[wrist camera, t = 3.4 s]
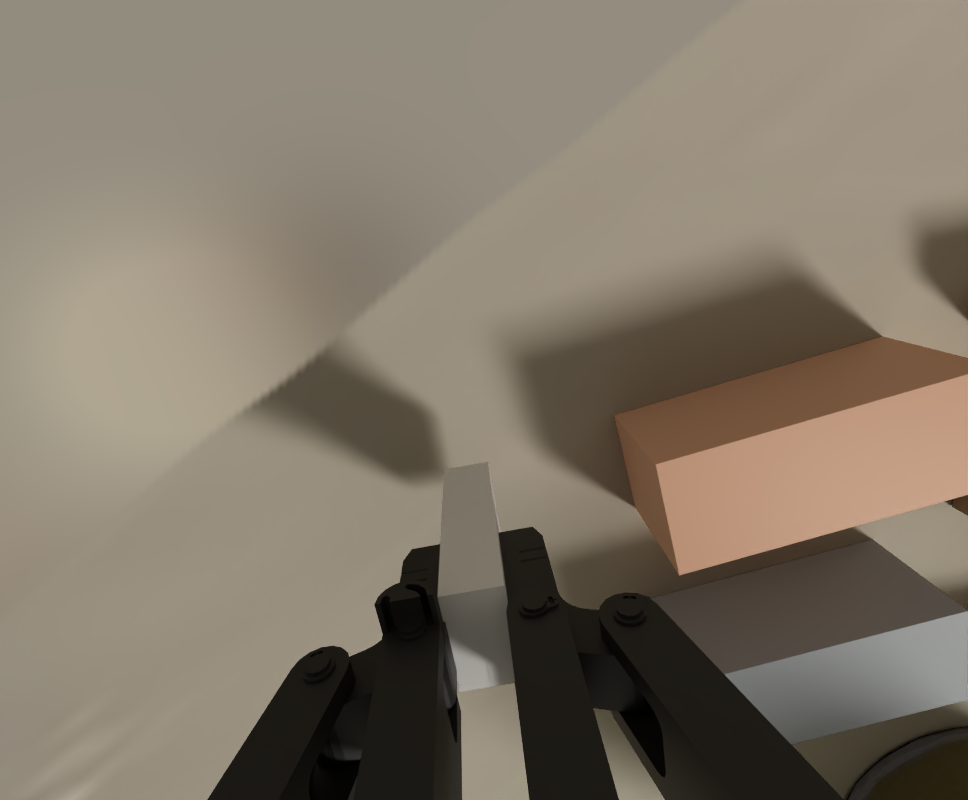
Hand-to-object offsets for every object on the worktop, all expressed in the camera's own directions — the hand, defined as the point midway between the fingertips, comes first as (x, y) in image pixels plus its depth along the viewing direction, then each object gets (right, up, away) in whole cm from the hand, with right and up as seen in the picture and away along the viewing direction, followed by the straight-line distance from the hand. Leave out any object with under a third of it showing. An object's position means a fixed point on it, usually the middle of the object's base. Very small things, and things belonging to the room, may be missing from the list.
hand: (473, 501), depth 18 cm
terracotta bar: (+10, +3, +2) cm, 11 cm away
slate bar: (+12, -5, +5) cm, 14 cm away
